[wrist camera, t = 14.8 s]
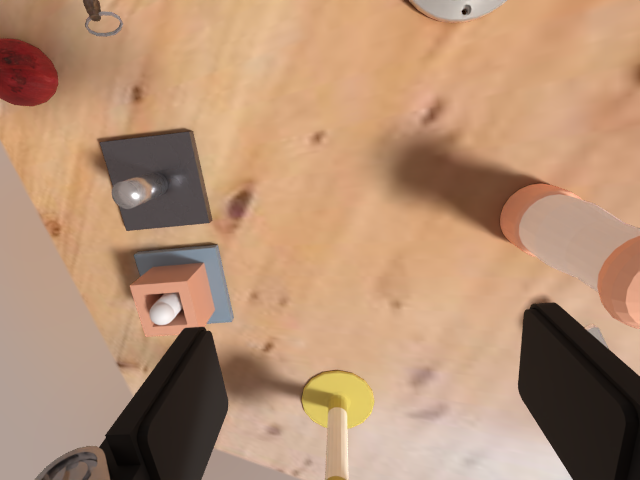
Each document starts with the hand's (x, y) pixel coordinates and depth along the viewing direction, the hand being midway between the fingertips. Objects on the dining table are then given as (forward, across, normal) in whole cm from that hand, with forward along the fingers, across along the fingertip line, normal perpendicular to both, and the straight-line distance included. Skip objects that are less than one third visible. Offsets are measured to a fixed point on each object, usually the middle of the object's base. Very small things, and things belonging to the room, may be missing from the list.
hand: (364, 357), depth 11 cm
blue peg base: (+30, +21, +11) cm, 38 cm away
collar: (+29, +21, +11) cm, 38 cm away
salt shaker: (+31, -20, +6) cm, 37 cm away
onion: (+31, +30, -14) cm, 45 cm away
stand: (+30, +21, -2) cm, 37 cm away
